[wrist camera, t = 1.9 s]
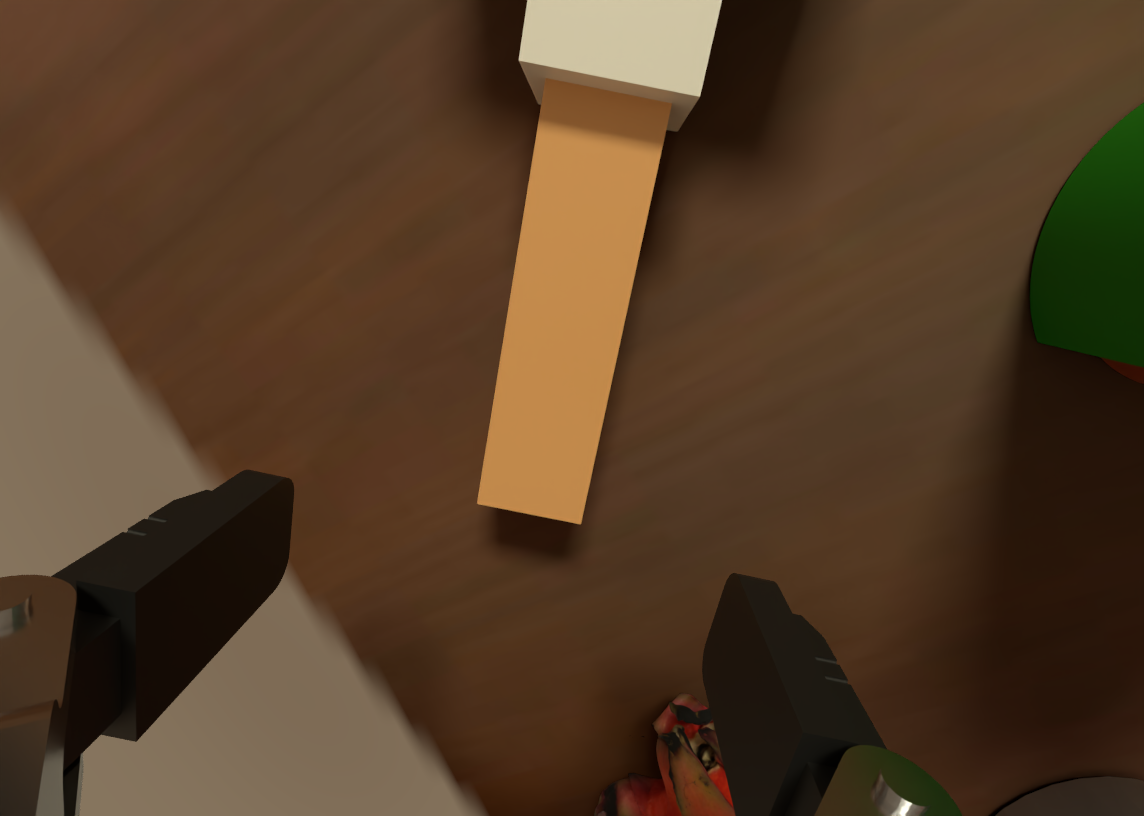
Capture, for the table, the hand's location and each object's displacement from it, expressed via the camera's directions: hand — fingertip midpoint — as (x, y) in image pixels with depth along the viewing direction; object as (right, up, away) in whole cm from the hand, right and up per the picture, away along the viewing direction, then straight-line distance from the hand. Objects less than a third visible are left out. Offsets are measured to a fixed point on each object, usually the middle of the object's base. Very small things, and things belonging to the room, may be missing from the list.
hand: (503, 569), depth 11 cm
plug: (+2, +8, +7) cm, 10 cm away
